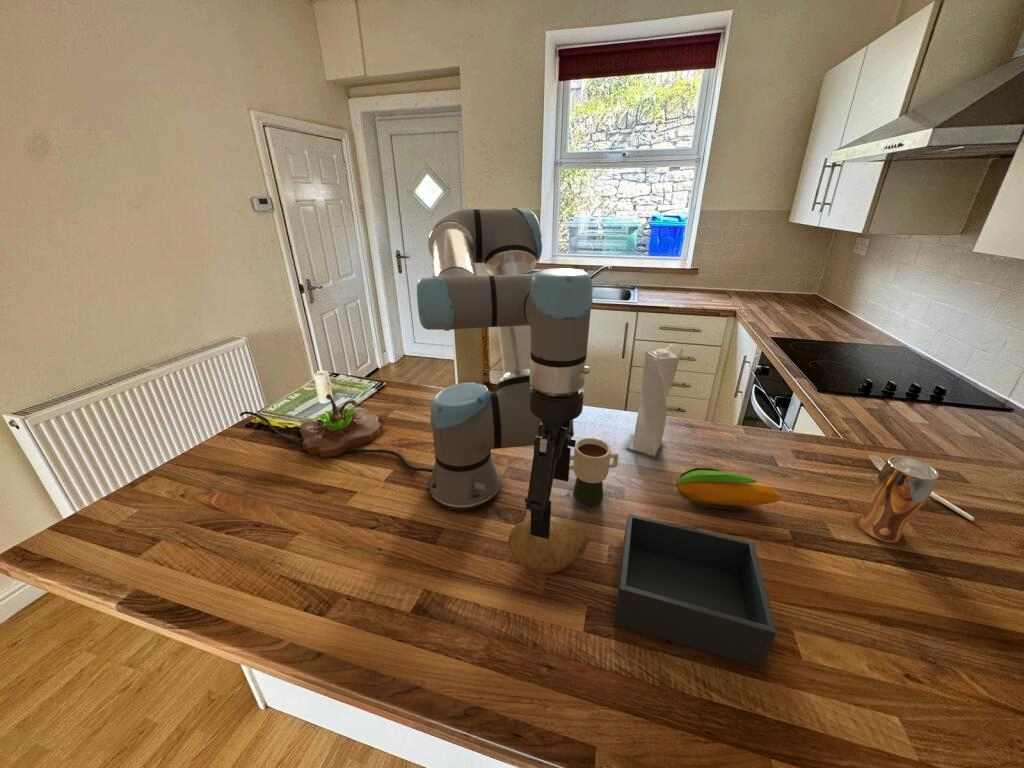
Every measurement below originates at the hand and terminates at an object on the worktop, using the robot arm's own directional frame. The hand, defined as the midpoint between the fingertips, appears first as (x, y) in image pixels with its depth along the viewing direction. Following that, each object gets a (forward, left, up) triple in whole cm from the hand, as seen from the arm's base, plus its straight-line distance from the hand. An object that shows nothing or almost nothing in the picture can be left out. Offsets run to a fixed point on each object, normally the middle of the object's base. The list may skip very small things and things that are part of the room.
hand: (551, 504), depth 64 cm
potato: (0, 0, -13) cm, 13 cm away
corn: (+31, +26, -13) cm, 43 cm away
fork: (+71, +44, -13) cm, 85 cm away
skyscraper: (+15, +41, -13) cm, 46 cm away
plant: (-63, +22, -13) cm, 68 cm away
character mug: (+4, +18, -13) cm, 23 cm away
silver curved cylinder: (+58, +27, -13) cm, 65 cm away
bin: (+22, 0, -13) cm, 25 cm away
